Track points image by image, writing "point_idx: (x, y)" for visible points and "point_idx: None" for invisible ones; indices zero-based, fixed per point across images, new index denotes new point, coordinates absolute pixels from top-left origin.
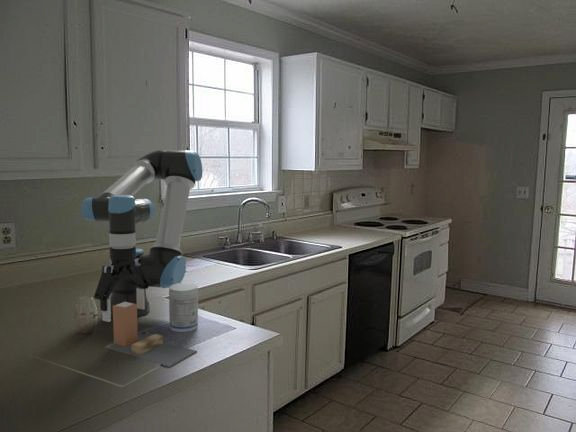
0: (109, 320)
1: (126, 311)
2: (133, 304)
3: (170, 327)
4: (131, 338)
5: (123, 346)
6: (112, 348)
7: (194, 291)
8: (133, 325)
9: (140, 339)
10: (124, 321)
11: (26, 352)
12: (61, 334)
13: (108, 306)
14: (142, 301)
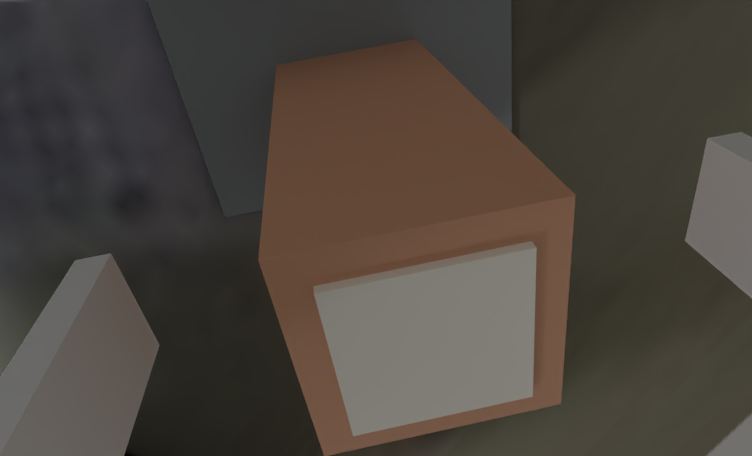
0: (741, 142)
1: (504, 174)
2: (316, 283)
3: None
4: (354, 63)
5: None
6: (495, 91)
7: None
8: (334, 106)
9: (240, 79)
10: (491, 117)
11: (722, 369)
12: (498, 451)
13: None
14: (66, 350)
